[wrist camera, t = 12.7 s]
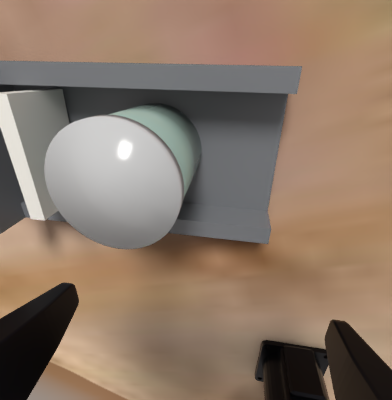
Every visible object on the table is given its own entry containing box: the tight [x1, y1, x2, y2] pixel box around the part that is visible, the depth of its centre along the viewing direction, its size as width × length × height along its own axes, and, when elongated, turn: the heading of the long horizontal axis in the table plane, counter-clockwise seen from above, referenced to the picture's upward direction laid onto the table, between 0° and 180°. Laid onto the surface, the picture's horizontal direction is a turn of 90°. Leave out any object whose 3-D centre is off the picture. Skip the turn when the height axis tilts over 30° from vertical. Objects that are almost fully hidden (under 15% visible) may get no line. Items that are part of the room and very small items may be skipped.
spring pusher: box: [0, 89, 70, 220], centre depth 16 cm, size 7×1×4 cm, turn 179°
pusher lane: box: [0, 61, 302, 244], centre depth 16 cm, size 10×19×5 cm, turn 89°
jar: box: [44, 103, 202, 249], centre depth 14 cm, size 6×6×7 cm
